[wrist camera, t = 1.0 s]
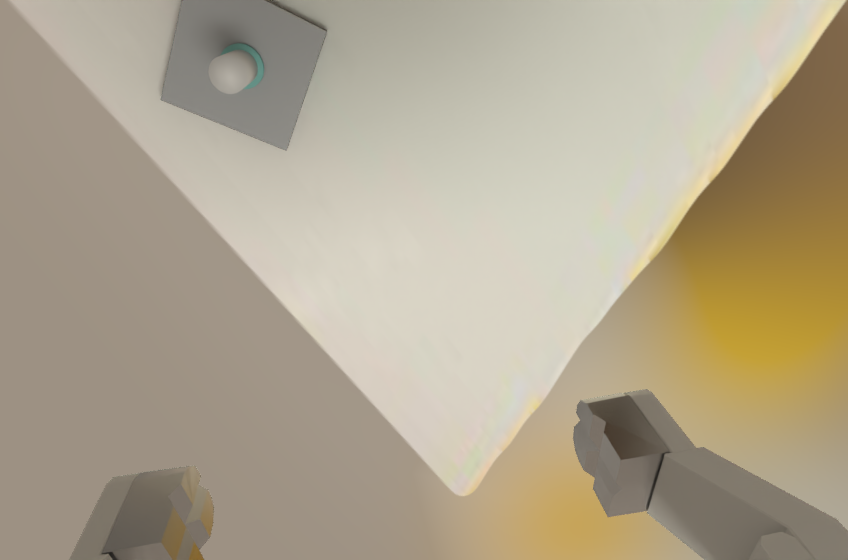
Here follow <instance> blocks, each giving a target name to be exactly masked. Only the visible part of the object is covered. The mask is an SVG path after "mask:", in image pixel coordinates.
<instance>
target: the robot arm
mask: <svg viewBox="0 0 848 560" xmlns="http://www.w3.org/2000/svg"><path fill="white" fill-rule="evenodd" d="M576 413H577V415H578V417H579V419H580V421H579V423H578V424H577V425H576V426H575V427H574V436H573V439H574V446H575V451H576V454H577V457H578V459H579V462H580V464H581V466H582V468H583V470H584V471H586V472H587V473H589V474H590V475H592V476H593V477H595V480H594V486H593V489H594V491H595V493H596V495H597V497H598V499H599V501H600V503H601V505H602V507H603V509H604V510H605V512H606V514H607V516H608V517H611V516H617V515H624V514H630V513H636V512H643V511H648V512H647V513H648V514H649V515H650V516H651V517H653V518H654V519H655V520H656V521H658V522H659V523H660V524H661V525H662V526H664V527H665V528H666V529H667V530H669V531H670V532H671V533H673V535H675V536H676V537H678V539H680V540H681V541H682V542H683V543H685V544H686V545H687V546H689V547H690V548H691V549H692V550H693V551H695V552H696V553H697V554H698V555H700V556H701V557H702V558H703V559H704V560H848V531H847V530H846V529H845V528H844V527H843V525H842V524H841V523H840V522H839V521H838V520H836V519H835V518H833V517H832V516H829V515H828V514H826V513H824V512H822V511H820V510H819V509H817V508H815V507H813V506H811V505H809V504H807V503H806V502H804V501H802V500H800V499H798V498H796V497H795V496H793V495H791V494H789V493H787V492H785V491H784V490H782V489H780V488H778V487H776V486H774V485H772V484H771V483H769V482H767V481H765V480H763V479H761V478H760V477H758V476H755V475H753V474H752V473H750V472H748V471H747V470H745V469H743V468H741V467H739V466H737V465H736V464H734V463H732V462H730V461H728V460H726V459H724V458H722V457H721V456H719V455H717V454H715V453H713V452H712V451H710V450H708V449H706V448H704V447H700V448H696V447H695V446H694V444H693V443H692V442H691V441H690V439H689V438H688V437H687V436H686V434H685V433H684V432H683V431H682V429H681V428H680V427H679V426H678V424H677V423H676V422H675V421H674V419H673V418H672V417H671V416H670V414H669V413H668V412H667V411H666V409H665V408H664V407H663V406H662V404H661V403H660V402H659V401H658V399H657V398H656V397H655V396H654V394H653V393H652V392H651V391H649V390H647V389H645V390H639V391H633V392H627V393H619V394H613V395H608V396H602V397H597V398H592V399H586V400H581V401H580V402H579V403H578V405H577V411H576ZM200 478H201V475H200V473H199V471H198V470H197V468H196V466H186V467H179V468H172V469H164V470H158V471H150V472H143V473H138V474H131V475H124V476H118V477H113V478H112V479H111V480H110V481H109V482H108V483H107V484H106V486H105V488H104V490H103V492H102V494H101V496H100V498H99V500H98V502H97V504H96V506H95V508H94V510H93V512H92V514H91V516H90V518H89V520H88V522H87V524H86V526H85V528H84V530H83V532H82V534H81V536H80V538H79V540H78V542H77V544H76V547H75V549H74V551H73V553H72V555H71V557H70V559H69V560H204V558H203V556H202V554H201V552H200V548H201V547H202V546H203V545H204V544H205V543H206V541H207V540H208V539H209V538H210V535H211V530H212V526H213V515H214V514H213V513H214V507H213V502H212V497H211V495H210V493H209V491H208V489H206V488H204V487H202V486H200V485H199V481H200Z"/></svg>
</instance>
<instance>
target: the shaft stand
mask: <svg viewBox="0 0 848 560" xmlns="http://www.w3.org/2000/svg"><path fill="white" fill-rule="evenodd" d="M326 33H327V31H326V30H324V29H322V28H320V27H318V26H316V25H314V24H312V23H310V22H308V21H306V20H304V19H302V18H300V17H298V16H296V15H294V14H292V13H290V12H288V11H286V10H284V9H282V8H280V7H278V6H276V5H274V4H273V3H271V2H269V1H267V0H182V3H181V8H180V12H179V17H178V22H177V26H176V31H175V35H174V40H173V45H172V49H171V54H170V59H169V63H168V68H167V73H166V77H165V82H164V87H163V91H162V96H161V100H162V101H164V102H167V103H169V104H172V105H174V106H177V107H179V108H182V109H184V110H187V111H189V112H192V113H194V114H197V115H199V116H202V117H204V118H207V119H209V120H211V121H214V122H216V123H219V124H221V125H224V126H226V127H229V128H231V129H234V130H236V131H239V132H241V133H244V134H246V135H249V136H251V137H254V138H256V139H258V140H261V141H263V142H266V143H268V144H271V145H273V146H276V147H278V148H281V149H283V150H287V148H288V145H289V142H290V139H291V136H292V133H293V130H294V127H295V124H296V121H297V118H298V115H299V112H300V109H301V107H302V104H303V101H304V98H305V95H306V92H307V89H308V86H309V83H310V80H311V77H312V74H313V71H314V68H315V65H316V62H317V59H318V56H319V54H320V51H321V48H322V45H323V42H324V39H325V36H326Z"/></svg>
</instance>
